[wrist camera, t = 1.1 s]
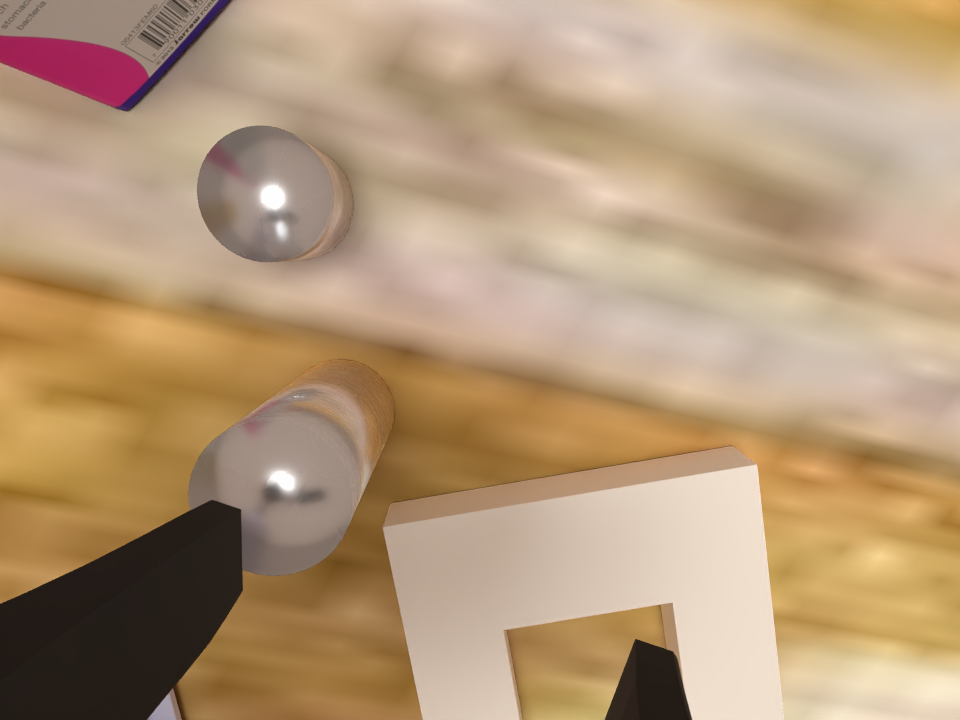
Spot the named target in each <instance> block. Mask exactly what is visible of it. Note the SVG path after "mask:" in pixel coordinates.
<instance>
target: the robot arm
mask: <svg viewBox="0 0 960 720" xmlns="http://www.w3.org/2000/svg"><path fill="white" fill-rule="evenodd" d="M242 591H243V583H242V526H241V509H239V508H236V507H233V506H230V505H227V504H224V503H221V502H218V501H215V500H210V501H208V502H206V503H204V504H202V505H200V506H198V507H196V508H194V509H192V510H190V511H188V512H186V513H185V514H183V515H181V516H179V517H177V518H175V519H173V520H171V521H169V522H168V523H166V524H164V525H162V526H160V527H158V528H156V529H154V530H153V531H151V532H149V533H147V534H145V535H143V536H141V537H139V538H137V539H135V540H133V541H131V542H130V543H128V544H126V545H124V546H122V547H120V548H118V549H116V550H114V551H112V552H110V553H108V554H106V555H104V556H102V557H100V558H98V559H96V560H94V561H92V562H90V563H88V564H86V565H84V566H82V567H80V568H78V569H76V570H74V571H71V572H69V573H67V574H65V575H63V576H61V577H59V578H56V579H54V580H52V581H50V582H48V583H46V584H44V585H41V586H39V587H37V588H35V589H33V590H31V591H29V592H26V593H24V594H22V595H20V596H18V597H15V598H13V599H11V600H8V601H6V602H4V603H1V604H0V720H182V719H181V715H180V711H179V708H178V704H177V701H176V697H175V693H174V690H173V687H174V686H175V685H176V684H177V683H178V681H179V680H180V679H181V678H182V676H183V675H184V674H185V673H186V671H187V670H188V669H189V668H190V666H191V665H192V664H193V663H194V661H195V660H196V659H197V658H198V656H199V655H200V654H201V653H202V651H203V650H204V649H205V648H206V646H207V645H208V644H209V643H210V641H211V640H212V638H213V637H214V635H215V634H216V632H217V631H218V629H219V628H220V626H221V624H222V623H223V621H224V620H225V618H226V617H227V615H228V614H229V612H230V610H231V609H232V607H233V605H234V604H235V602H236V601H237V599H238V597H239V596H240V594H241V592H242ZM605 720H692V716H691V713H690V709H689V705H688V702H687V698H686V694H685V690H684V686H683V681H682V677H681V673H680V668H679V663H678V659H677V657H676V655H675V654H674V652H673V651H670V650H667V649H664V648H661V647H658V646H655V645H652V644H649V643H646V642H643V641H640V640H637V639H635V642H634V644H633V647H632V649H631V652H630V655H629V657H628V660H627V663H626V665H625V668H624V670H623V673H622V676H621V678H620V681H619V684H618V686H617V689H616V692H615V694H614V697H613V699H612V702H611V705H610V707H609V710H608V713H607V715H606V718H605Z"/></svg>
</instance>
